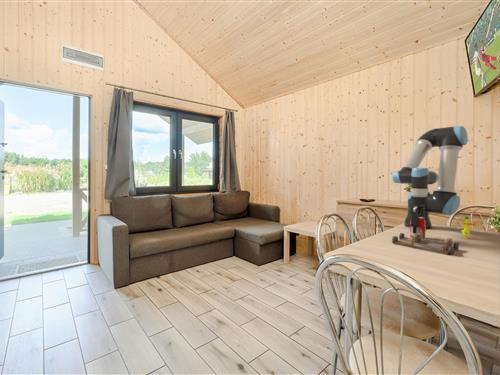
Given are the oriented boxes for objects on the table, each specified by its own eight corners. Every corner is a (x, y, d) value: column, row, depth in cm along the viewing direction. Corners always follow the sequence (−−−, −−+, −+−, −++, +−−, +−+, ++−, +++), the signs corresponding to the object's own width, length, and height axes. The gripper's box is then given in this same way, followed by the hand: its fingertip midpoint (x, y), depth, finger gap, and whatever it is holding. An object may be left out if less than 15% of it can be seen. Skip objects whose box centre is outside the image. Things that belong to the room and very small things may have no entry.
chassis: (401, 238, 140) (402, 229, 140) (458, 249, 122) (459, 238, 121) (391, 243, 132) (392, 233, 132) (451, 255, 113) (452, 244, 113)
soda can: (424, 241, 136) (425, 218, 135) (409, 239, 140) (410, 217, 139) (425, 238, 142) (426, 216, 141) (410, 236, 146) (411, 215, 145)
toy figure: (475, 238, 139) (477, 217, 138) (475, 240, 136) (477, 218, 135) (459, 236, 143) (461, 215, 143) (459, 238, 141) (460, 216, 140)
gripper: (417, 194, 148) (416, 233, 150) (404, 197, 136) (402, 239, 137) (432, 195, 143) (431, 235, 144) (420, 198, 130) (419, 242, 132)
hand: (417, 237), depth 141 cm, fingers closed on soda can, 7 cm apart
